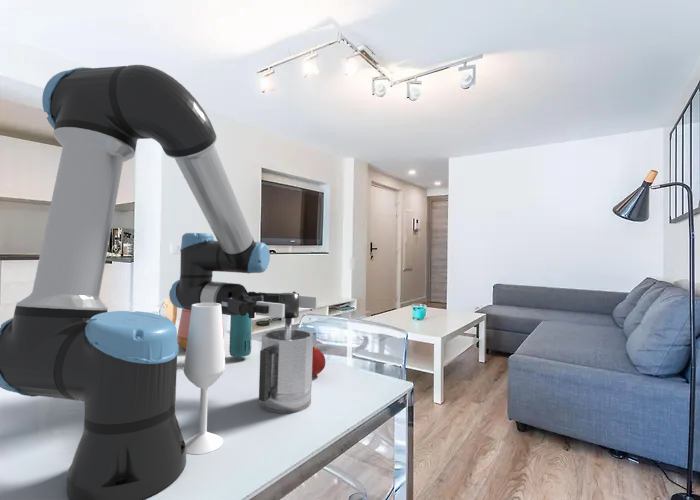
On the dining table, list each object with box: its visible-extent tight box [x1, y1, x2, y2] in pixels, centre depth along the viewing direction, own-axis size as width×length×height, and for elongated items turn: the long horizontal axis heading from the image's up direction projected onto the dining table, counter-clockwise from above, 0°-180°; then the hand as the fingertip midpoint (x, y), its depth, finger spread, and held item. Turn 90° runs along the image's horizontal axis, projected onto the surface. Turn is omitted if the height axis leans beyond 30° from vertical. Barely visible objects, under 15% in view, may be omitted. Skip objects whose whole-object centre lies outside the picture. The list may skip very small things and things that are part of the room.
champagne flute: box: [183, 303, 226, 455], centre depth 64 cm, size 7×7×24 cm
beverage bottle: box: [228, 313, 253, 358], centre depth 112 cm, size 6×7×20 cm
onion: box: [312, 345, 326, 377], centre depth 99 cm, size 6×6×8 cm
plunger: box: [279, 292, 300, 340], centre depth 82 cm, size 8×8×19 cm
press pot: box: [258, 328, 314, 414], centre depth 80 cm, size 14×11×15 cm
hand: (301, 306), depth 80 cm, fingers open, 13 cm apart
